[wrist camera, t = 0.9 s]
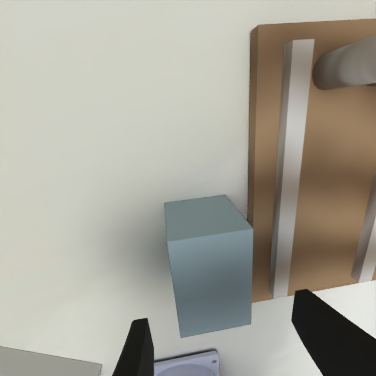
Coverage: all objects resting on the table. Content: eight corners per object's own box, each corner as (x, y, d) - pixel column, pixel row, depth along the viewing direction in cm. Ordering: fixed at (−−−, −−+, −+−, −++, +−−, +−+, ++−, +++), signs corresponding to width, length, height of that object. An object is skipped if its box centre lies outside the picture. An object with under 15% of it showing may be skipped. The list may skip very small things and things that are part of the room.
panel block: (226, 269, 18) (250, 324, 13) (174, 277, 17) (180, 338, 13) (224, 194, 15) (253, 228, 11) (164, 202, 15) (166, 241, 10)
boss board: (365, 272, 20) (428, 320, 15) (246, 293, 19) (275, 352, 14) (432, 21, 13) (583, -30, 8) (250, 31, 12) (309, -21, 7)
